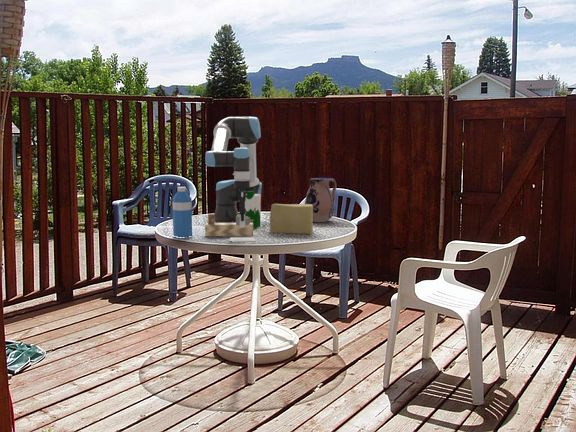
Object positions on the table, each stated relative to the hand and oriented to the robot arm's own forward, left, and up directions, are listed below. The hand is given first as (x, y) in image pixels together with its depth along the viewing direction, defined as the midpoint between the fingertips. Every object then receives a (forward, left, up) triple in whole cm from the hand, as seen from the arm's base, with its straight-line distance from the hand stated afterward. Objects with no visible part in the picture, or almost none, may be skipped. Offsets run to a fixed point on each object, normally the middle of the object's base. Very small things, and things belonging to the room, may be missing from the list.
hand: (242, 225), depth 305 cm
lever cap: (0, 0, +1) cm, 1 cm away
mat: (0, 0, -7) cm, 7 cm away
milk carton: (-18, +35, -7) cm, 40 cm away
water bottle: (-30, -9, -7) cm, 32 cm away
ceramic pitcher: (+4, +74, -7) cm, 74 cm away
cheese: (+9, +31, -7) cm, 33 cm away
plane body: (-13, +7, -7) cm, 16 cm away
